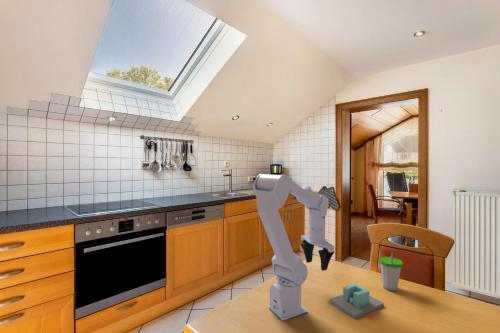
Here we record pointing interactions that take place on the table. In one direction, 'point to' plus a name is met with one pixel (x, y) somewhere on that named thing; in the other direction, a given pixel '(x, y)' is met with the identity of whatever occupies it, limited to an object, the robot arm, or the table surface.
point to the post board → (353, 310)
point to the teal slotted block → (356, 295)
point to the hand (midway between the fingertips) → (316, 265)
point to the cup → (390, 272)
